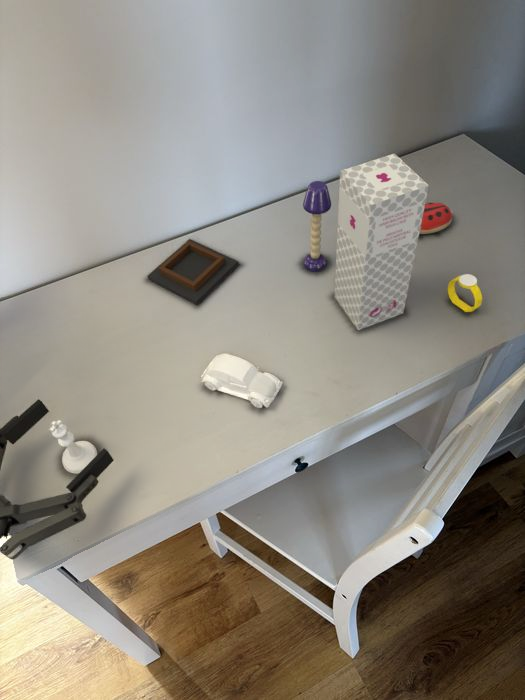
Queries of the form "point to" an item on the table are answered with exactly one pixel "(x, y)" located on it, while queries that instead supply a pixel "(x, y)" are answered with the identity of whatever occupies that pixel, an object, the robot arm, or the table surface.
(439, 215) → the ladybug figurine
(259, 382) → the car
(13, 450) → the table surface
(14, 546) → the robot arm
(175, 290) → the socket pad
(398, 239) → the box
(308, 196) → the toy lamp
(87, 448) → the chess piece
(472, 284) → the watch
